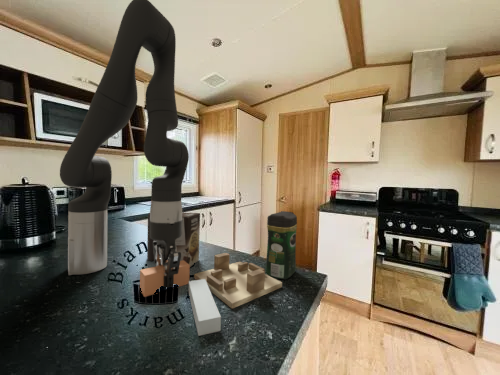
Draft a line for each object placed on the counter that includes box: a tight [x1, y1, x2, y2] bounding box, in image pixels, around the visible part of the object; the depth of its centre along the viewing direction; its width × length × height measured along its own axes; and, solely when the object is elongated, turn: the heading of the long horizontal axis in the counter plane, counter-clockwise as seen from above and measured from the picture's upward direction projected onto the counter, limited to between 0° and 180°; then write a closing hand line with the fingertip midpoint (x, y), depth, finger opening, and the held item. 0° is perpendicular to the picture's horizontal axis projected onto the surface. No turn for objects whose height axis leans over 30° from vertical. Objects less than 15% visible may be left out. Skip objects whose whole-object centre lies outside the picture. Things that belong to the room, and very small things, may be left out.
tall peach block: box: [139, 260, 191, 298], centre depth 56 cm, size 11×4×5 cm, turn 130°
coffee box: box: [175, 211, 201, 268], centre depth 71 cm, size 9×6×16 cm
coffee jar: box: [265, 210, 298, 280], centre depth 66 cm, size 10×8×19 cm
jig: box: [193, 252, 283, 310], centre depth 59 cm, size 16×18×5 cm
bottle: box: [146, 199, 157, 262], centre depth 75 cm, size 7×7×20 cm
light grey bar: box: [187, 279, 222, 337], centre depth 47 cm, size 4×16×3 cm, turn 22°
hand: (165, 285), depth 56 cm, fingers closed on tall peach block, 4 cm apart
